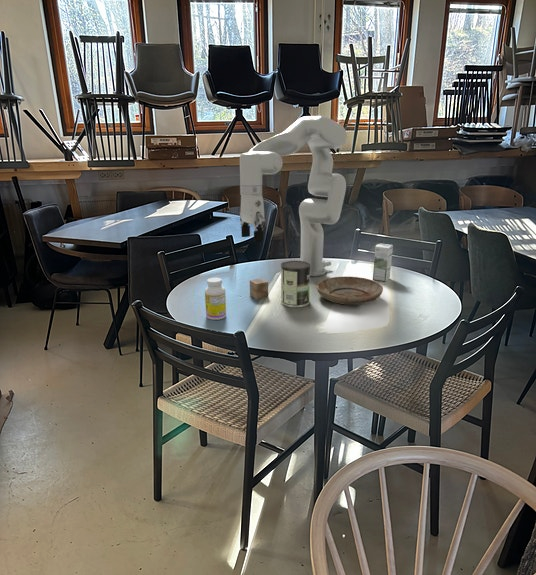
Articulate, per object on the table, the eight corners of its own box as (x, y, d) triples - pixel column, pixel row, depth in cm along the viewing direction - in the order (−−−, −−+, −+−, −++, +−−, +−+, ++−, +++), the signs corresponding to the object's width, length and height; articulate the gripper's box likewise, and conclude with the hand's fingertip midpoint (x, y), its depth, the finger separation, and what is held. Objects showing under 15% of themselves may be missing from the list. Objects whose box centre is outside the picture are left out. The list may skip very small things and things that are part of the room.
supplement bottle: (208, 312, 146) (206, 276, 142) (227, 312, 146) (226, 276, 142) (204, 320, 140) (202, 283, 135) (225, 320, 140) (223, 283, 135)
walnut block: (261, 293, 164) (261, 278, 162) (268, 297, 160) (268, 281, 158) (249, 295, 161) (249, 280, 159) (256, 299, 157) (256, 284, 155)
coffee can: (308, 297, 159) (309, 260, 155) (310, 307, 150) (311, 268, 145) (280, 297, 160) (280, 260, 155) (280, 307, 150) (280, 268, 145)
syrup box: (390, 278, 180) (393, 244, 175) (385, 282, 175) (388, 247, 170) (376, 276, 183) (379, 242, 178) (372, 280, 178) (374, 245, 173)
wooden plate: (334, 284, 174) (335, 272, 172) (391, 295, 161) (392, 283, 159) (304, 301, 156) (305, 288, 154) (366, 316, 143) (367, 302, 141)
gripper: (273, 192, 143) (273, 242, 149) (249, 187, 157) (250, 233, 163) (253, 193, 140) (253, 245, 145) (230, 188, 154) (232, 235, 160)
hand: (251, 239), depth 154 cm, fingers open, 9 cm apart
